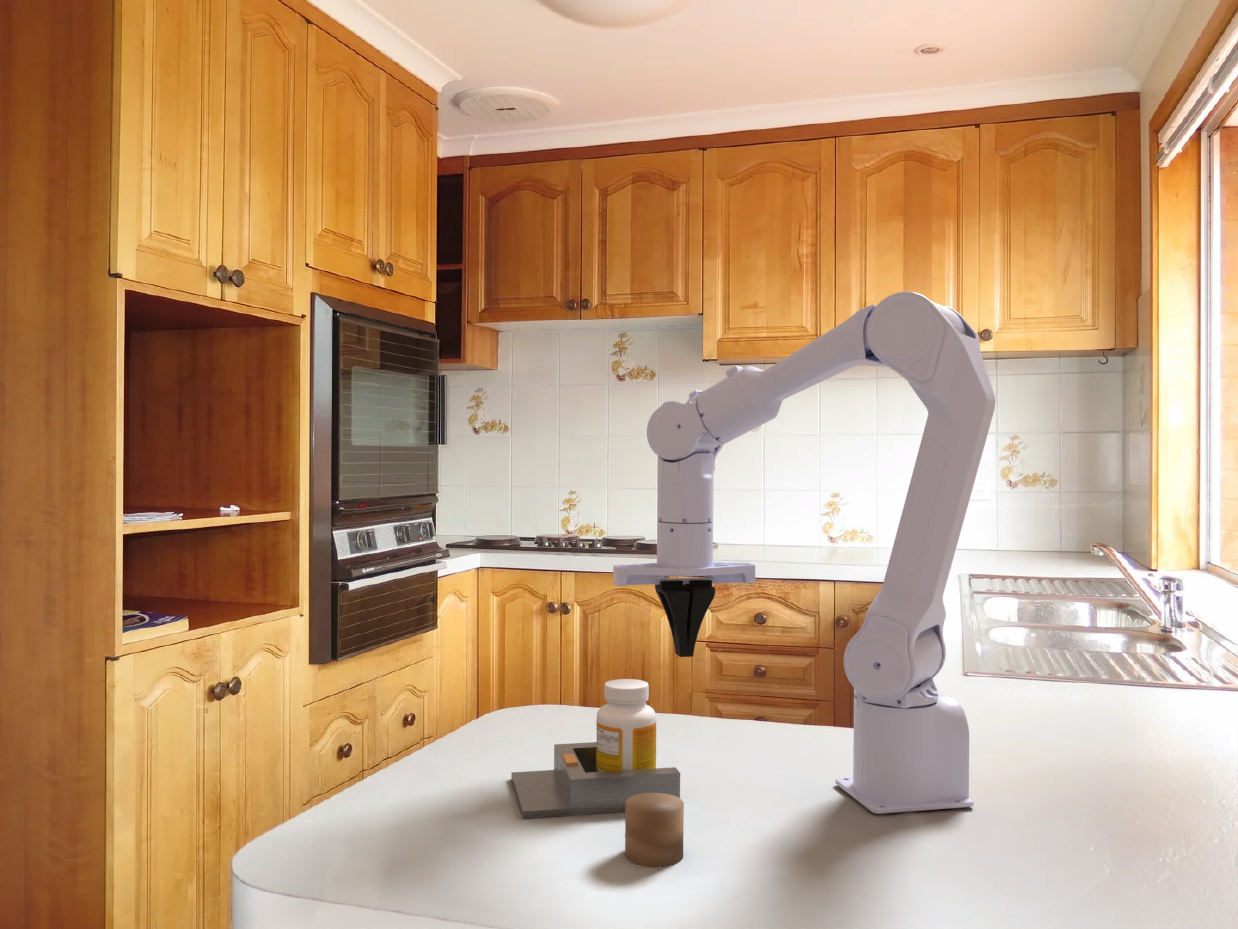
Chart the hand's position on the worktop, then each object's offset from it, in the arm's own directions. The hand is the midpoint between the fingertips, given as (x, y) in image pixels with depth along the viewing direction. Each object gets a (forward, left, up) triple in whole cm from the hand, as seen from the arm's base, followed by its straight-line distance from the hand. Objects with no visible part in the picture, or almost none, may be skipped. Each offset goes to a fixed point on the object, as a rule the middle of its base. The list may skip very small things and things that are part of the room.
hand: (684, 655), depth 98 cm
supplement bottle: (+8, +10, -10) cm, 16 cm away
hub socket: (+11, +10, -10) cm, 18 cm away
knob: (+9, +24, -10) cm, 28 cm away
